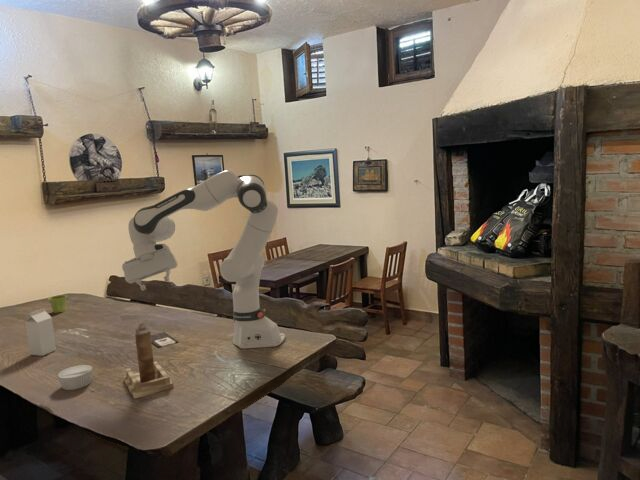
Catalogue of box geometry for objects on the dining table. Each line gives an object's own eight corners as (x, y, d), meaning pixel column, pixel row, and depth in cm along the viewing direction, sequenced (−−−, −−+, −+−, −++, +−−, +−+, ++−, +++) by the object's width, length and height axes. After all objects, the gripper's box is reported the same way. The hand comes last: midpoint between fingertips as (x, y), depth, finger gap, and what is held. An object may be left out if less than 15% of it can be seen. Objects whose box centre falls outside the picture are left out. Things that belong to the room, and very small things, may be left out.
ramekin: (70, 394, 161) (68, 380, 160) (53, 388, 167) (50, 374, 166) (100, 381, 171) (98, 367, 170) (82, 376, 176) (80, 362, 176)
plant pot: (57, 309, 277) (55, 295, 275) (72, 309, 275) (70, 294, 274) (46, 314, 267) (44, 299, 266) (61, 314, 266) (59, 299, 265)
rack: (124, 380, 170) (122, 370, 169) (160, 370, 177) (159, 360, 176) (134, 398, 155) (132, 387, 154) (173, 387, 162) (172, 376, 161)
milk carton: (56, 350, 206) (50, 308, 204) (42, 356, 200) (35, 313, 197) (44, 349, 209) (38, 308, 206) (30, 355, 202) (23, 312, 199)
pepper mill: (157, 376, 168) (152, 321, 165) (150, 383, 163) (144, 326, 160) (145, 376, 168) (139, 321, 166) (137, 382, 164) (131, 326, 161)
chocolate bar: (164, 331, 221) (178, 341, 207) (164, 333, 221) (178, 343, 207) (144, 336, 216) (158, 346, 202) (145, 338, 216) (158, 348, 202)
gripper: (117, 260, 182) (126, 292, 178) (168, 242, 184) (178, 274, 180) (124, 265, 188) (132, 296, 183) (173, 247, 190) (182, 278, 186)
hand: (155, 285), depth 182 cm, fingers open, 8 cm apart
